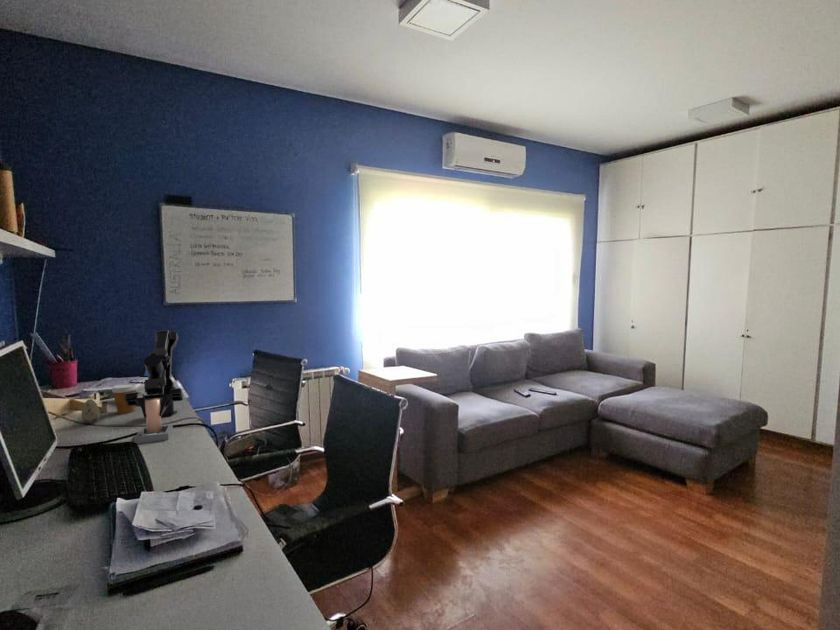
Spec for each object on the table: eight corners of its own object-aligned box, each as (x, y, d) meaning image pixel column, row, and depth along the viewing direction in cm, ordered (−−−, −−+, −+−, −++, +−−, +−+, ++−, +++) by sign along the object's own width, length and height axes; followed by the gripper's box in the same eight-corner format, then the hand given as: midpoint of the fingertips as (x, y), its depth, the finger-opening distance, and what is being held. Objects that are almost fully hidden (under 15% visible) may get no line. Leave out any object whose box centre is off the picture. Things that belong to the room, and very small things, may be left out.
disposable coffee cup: (141, 411, 190) (139, 385, 189) (116, 416, 183) (114, 389, 182) (135, 407, 197) (134, 381, 196) (110, 411, 190) (109, 385, 189)
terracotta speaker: (145, 432, 160) (143, 400, 159) (159, 429, 164) (158, 397, 162) (148, 435, 157) (146, 403, 156) (163, 432, 160) (161, 400, 159)
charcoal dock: (141, 433, 163) (140, 427, 163) (172, 430, 167) (172, 423, 167) (134, 443, 153) (134, 436, 153) (168, 439, 158) (168, 432, 157)
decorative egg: (95, 419, 179) (93, 396, 178) (103, 421, 177) (101, 398, 176) (79, 424, 174) (77, 400, 173) (87, 426, 171) (85, 402, 171)
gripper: (123, 372, 158) (117, 409, 149) (180, 367, 165) (178, 403, 156) (130, 387, 166) (125, 423, 157) (184, 382, 173) (182, 417, 164)
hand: (152, 416), depth 158 cm, fingers closed on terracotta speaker, 5 cm apart
